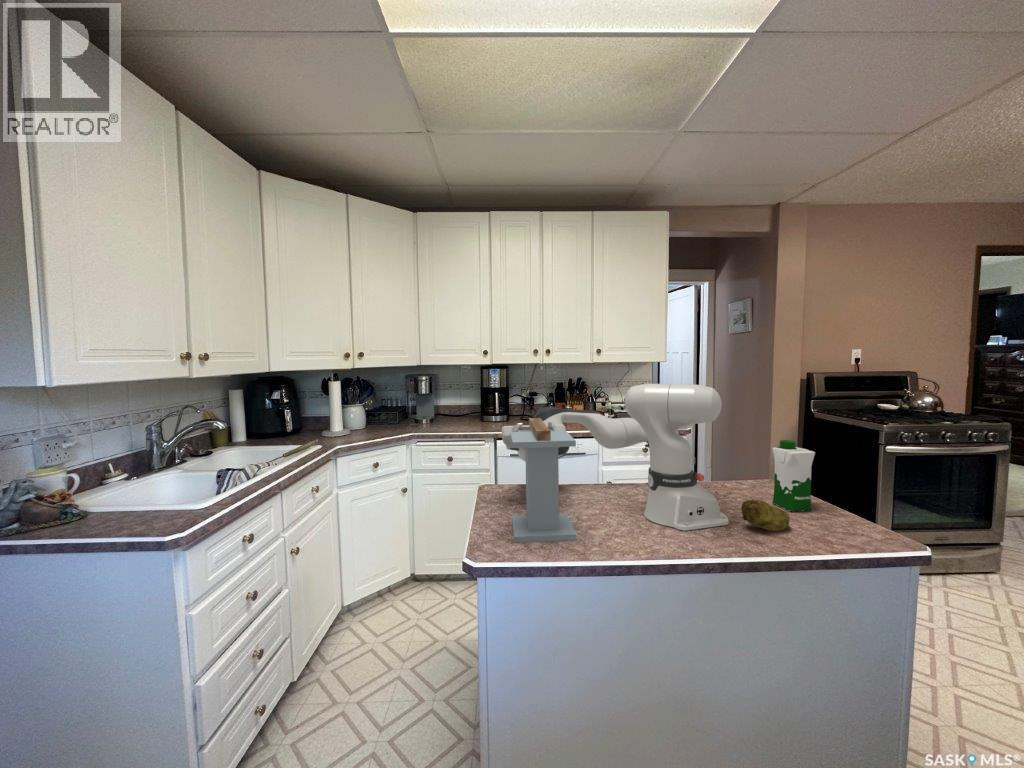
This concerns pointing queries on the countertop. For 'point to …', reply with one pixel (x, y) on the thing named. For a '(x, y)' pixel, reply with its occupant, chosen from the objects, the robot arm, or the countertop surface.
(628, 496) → the countertop surface
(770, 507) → the potato
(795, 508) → the milk carton
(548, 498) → the stand
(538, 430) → the block
